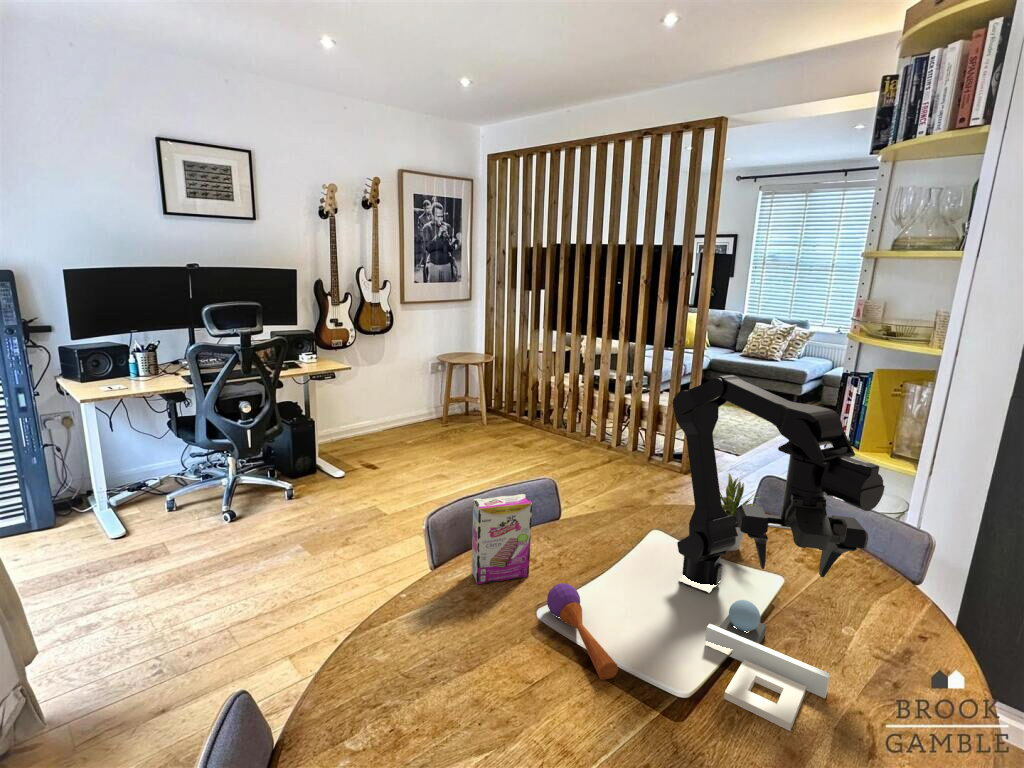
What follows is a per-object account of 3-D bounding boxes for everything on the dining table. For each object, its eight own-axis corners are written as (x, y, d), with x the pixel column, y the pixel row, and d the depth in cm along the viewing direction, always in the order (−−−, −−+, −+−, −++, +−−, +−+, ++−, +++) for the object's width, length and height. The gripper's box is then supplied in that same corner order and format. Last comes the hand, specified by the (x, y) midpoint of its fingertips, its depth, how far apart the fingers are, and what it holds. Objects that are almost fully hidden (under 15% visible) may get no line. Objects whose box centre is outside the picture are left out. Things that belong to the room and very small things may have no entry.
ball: (723, 629, 95) (726, 603, 94) (732, 615, 99) (735, 590, 98) (753, 642, 92) (757, 615, 91) (762, 627, 96) (765, 601, 95)
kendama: (589, 663, 83) (540, 582, 101) (592, 693, 85) (544, 608, 103) (624, 649, 84) (570, 572, 103) (626, 679, 86) (573, 598, 105)
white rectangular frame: (724, 698, 82) (724, 691, 81) (743, 666, 88) (744, 659, 88) (790, 731, 76) (791, 723, 76) (805, 693, 83) (806, 686, 83)
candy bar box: (477, 586, 109) (478, 508, 105) (471, 573, 113) (471, 498, 110) (530, 577, 112) (533, 502, 109) (522, 565, 117) (524, 492, 114)
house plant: (687, 526, 137) (693, 463, 133) (746, 531, 135) (753, 467, 131) (698, 555, 123) (705, 485, 119) (763, 561, 121) (772, 490, 118)
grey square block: (718, 637, 95) (719, 627, 95) (730, 620, 100) (731, 610, 99) (754, 652, 92) (756, 642, 91) (765, 635, 96) (766, 624, 96)
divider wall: (705, 645, 93) (706, 626, 92) (707, 641, 94) (709, 623, 93) (825, 698, 82) (828, 678, 81) (826, 693, 83) (830, 673, 82)
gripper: (753, 498, 84) (740, 590, 87) (891, 514, 80) (872, 609, 83) (741, 471, 94) (729, 554, 98) (862, 484, 91) (846, 570, 94)
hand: (791, 571), depth 93 cm, fingers open, 9 cm apart
